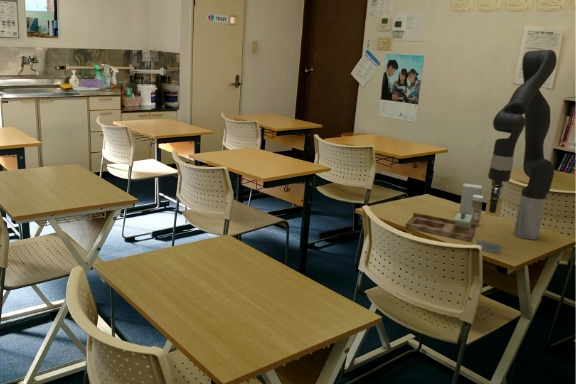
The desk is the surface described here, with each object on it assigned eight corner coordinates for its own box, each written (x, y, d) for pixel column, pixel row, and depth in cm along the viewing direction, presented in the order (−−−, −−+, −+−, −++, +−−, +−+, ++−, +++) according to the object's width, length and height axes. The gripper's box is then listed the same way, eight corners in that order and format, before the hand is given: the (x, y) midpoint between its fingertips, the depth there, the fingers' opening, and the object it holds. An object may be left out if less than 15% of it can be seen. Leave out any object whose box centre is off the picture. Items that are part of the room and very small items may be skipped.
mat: (501, 245, 204) (501, 244, 204) (499, 253, 195) (499, 252, 195) (474, 240, 208) (474, 239, 208) (471, 247, 199) (471, 246, 199)
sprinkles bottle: (477, 228, 223) (482, 198, 220) (466, 225, 226) (471, 196, 222) (479, 225, 227) (484, 195, 224) (468, 223, 229) (473, 193, 226)
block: (486, 211, 201) (488, 196, 200) (499, 213, 199) (502, 198, 197) (484, 214, 197) (487, 199, 195) (498, 217, 195) (501, 201, 193)
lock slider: (470, 227, 215) (473, 209, 213) (467, 234, 206) (470, 215, 204) (455, 224, 218) (458, 206, 216) (451, 231, 208) (454, 212, 206)
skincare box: (477, 216, 241) (483, 185, 237) (476, 219, 235) (482, 188, 231) (459, 213, 244) (464, 182, 240) (457, 216, 238) (462, 185, 234)
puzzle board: (474, 233, 216) (476, 224, 214) (470, 243, 204) (472, 233, 203) (412, 221, 226) (413, 212, 225) (405, 229, 215) (406, 220, 214)
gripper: (492, 162, 201) (484, 204, 205) (488, 168, 188) (480, 213, 193) (512, 165, 198) (504, 208, 202) (510, 172, 185) (501, 217, 190)
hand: (492, 210), depth 198 cm, fingers closed on block, 5 cm apart
